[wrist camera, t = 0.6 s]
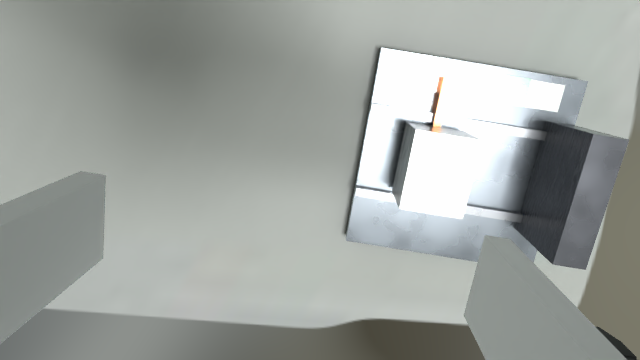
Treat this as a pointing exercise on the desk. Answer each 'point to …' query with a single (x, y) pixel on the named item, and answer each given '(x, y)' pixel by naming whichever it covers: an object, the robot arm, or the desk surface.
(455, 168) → the block
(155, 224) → the desk surface
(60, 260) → the robot arm
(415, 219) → the bench
